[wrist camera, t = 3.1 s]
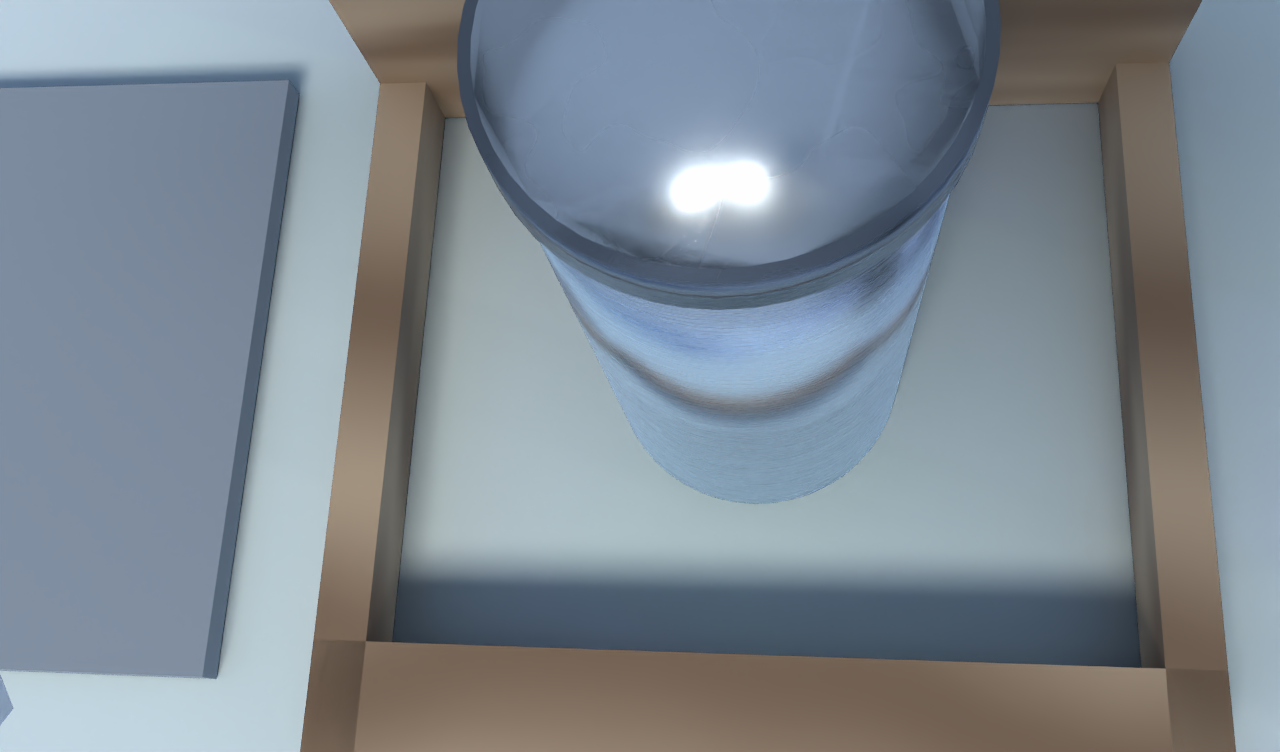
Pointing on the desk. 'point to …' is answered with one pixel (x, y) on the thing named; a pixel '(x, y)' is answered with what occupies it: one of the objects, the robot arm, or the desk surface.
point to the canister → (736, 205)
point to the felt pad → (131, 363)
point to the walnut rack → (772, 684)
